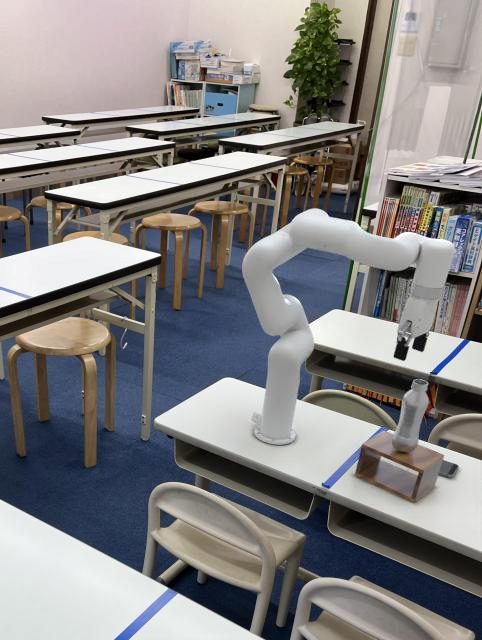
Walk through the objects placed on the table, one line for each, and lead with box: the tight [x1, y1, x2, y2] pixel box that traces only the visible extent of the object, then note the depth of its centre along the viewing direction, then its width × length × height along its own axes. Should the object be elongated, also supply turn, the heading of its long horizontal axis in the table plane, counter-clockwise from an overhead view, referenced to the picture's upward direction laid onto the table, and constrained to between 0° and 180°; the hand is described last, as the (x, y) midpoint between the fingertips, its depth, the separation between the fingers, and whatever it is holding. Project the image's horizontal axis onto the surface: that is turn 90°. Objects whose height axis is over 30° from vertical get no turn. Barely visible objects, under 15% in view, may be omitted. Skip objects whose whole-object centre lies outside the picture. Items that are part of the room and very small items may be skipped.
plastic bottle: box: [392, 378, 430, 452], centre depth 183 cm, size 6×7×20 cm
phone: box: [438, 459, 459, 479], centre depth 202 cm, size 8×1×16 cm
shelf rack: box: [354, 430, 445, 504], centre depth 191 cm, size 18×12×10 cm, turn 44°
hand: (408, 354), depth 182 cm, fingers open, 9 cm apart
